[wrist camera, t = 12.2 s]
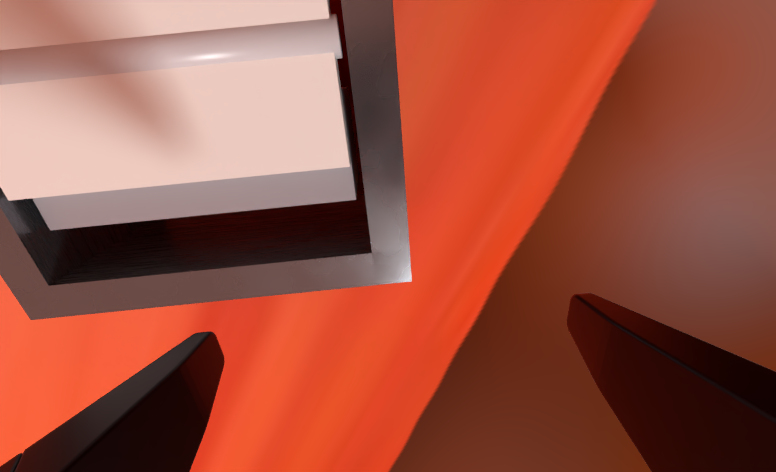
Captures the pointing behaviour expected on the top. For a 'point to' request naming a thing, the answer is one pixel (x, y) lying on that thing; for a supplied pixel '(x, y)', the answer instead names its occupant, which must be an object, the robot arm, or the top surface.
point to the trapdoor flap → (172, 108)
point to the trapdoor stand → (235, 223)
